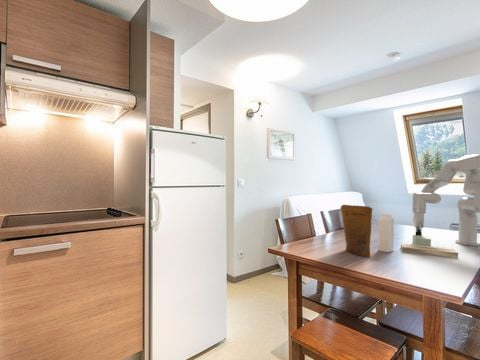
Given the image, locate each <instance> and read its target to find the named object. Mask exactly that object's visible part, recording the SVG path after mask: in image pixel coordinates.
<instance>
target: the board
mask: <svg viewBox="0 0 480 360" xmlns="http://www.w3.org/2000/svg"><path fill="white" fill-rule="evenodd" d="M400 250H401V252H403V253H408V254H417V255H425V256H434V257H442V258H443V257H444V258H451V259H459V252H458V251H456V250H455V248H450V247H439V246H422V245H413V244H409V243H402V242H401V243H400Z"/></svg>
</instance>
